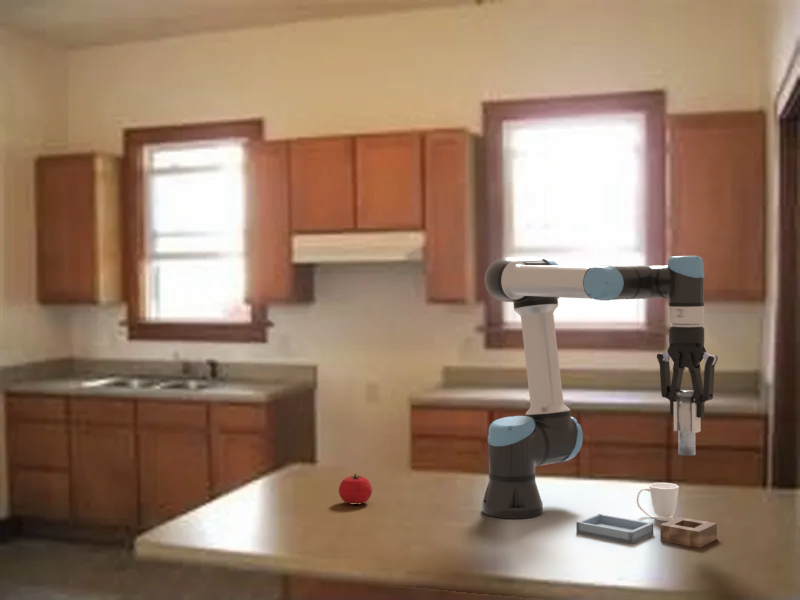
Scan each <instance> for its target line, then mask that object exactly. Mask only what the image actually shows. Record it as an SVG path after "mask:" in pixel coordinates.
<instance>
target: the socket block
mask: <svg viewBox="0 0 800 600" xmlns="http://www.w3.org/2000/svg"><path fill="white" fill-rule="evenodd" d="M717 525H718V524H717V522H710V521H705V520H700V519H692V518H688V517H681V516H677V517H675V518H674V519H673V520H670V521H665V522H663V523H661V524H660V525H659V528H660V529H659V530H660V531H659V532H660V534H659V535H660V541H662V542H666V543H670V544H671V543H672V544H677V545H682V546H687V547H692V546H694V547H693V548H697V547H698V549H700V548H702V547H704V546H705V545H708V544H710V543H712V542H714V541H716V540H717V539H718V526H717Z"/></svg>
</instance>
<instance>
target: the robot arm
mask: <svg viewBox="0 0 800 600" xmlns="http://www.w3.org/2000/svg"><path fill="white" fill-rule="evenodd" d="M667 262H668V263H667V265H559V264H558V263H556V261H554V260H553V259H551V258H548V257H542V256H541V257H540V256H527V257H526V256H525V257H524V256H521V257H520V256H518V257H516V256H515V257H510V256H509V257H507V256H506V257H502V258H498V259H496V260H494V261H493V262H492V263H491V264H490V265H489V266H488V268H487V269H486V271H485V274H484V285H485V289H486V290H487V292H488V294H490V296H492V298H494V299H496V300H498V301H500V302H504V303H509V302H510V303H513V310H514V312H516V313H517V314H518V315H519V316H520V321H521V328H522V329H521V333H522V340H523V348H524V357H525V365H526V366H525V368H526V375H527V376H526V378H527V383H528V385H527V386H528V394H529V395H528V396H529V402H530V407H529V409H527V411H526V412H525V415H514V416H505V417H501V418H498V419H495V420H493V421H492V422H491V423H490V424H489V427H488V435H487V443H488V445H487V446H488V447H487V449H488V483H487V486H486V490H485V493H484V496H483V499H482V503H481V505H482V513H483V514H485V515H487V516H490V517H493V518H499V519H500V518H501V519H512V520H513V519H528V518H533V517H537V516H540V515H541V514H543V513H544V511H543V509H544V507H543V506H544V505H543V504H544V503H543V501H542V497H541V495H540V490H539V488H538V486H537V481H536V467H541V466H546V465H551V464H552V465H553V464H561V463H564V462H567V461H570V460H572V459H574V458H575V457H577V455H578V453H579V452H580V450H581V448H582V445H583V440H584V439H583V437H584V435H583V429H582V426H581V424H580V423H578V420H577V419H576V418H575V417H573V416H572V415H571V408H569V406H567V405H566V404H565V403H564V395H563V388H562V387H563V386H562V378H561V377H562V376H561V369H560V359H559V352H558V351H559V350H558V342H557V335H556V334H557V333H556V327H555V317H554V312H555V311H556V309H558V307H559V301H558V300H559V298H570V299H592V300H596V301H611V300H613V301H614V300H640V299H642V300H646V299H648V300H649V299H653V300H654V299H665V300H666V299H668V324H669V325H671V326H669V328H668V343H669V345H668V348H667V351H664V352H661V353H657V355H656V359H657V361H658V364H659V376H660V377H659V378H660V391H661V393H660V394H661V397H662V398H664V399H668V401H669V414H670V416H673V432H678V396H675V391H678V390H681V388H682V382H683V375H684V372H685V369H686V368H687V369H688V372H689V374H690V379H691V385H692V390H693V391H694V397H695V401H694V403H692V433H695V434H696V433H699V432H701V431H702V429H701V424H702V422H701V418H705V403H706V402H708V401H712V400H713V399H714V387H715V367H716V364H717V361H718V358H719V357H718V356H717V355H712V354H710V353H708V352H707V349H706V348H705V328H704V326H702V325H704V324H705V303H704V300H705V299H704V298H705V297H704V293H705V276H706V275H705V272H704V271H705V270H704V260H703V258H702V257H701V256H699V255H678V256H677V255H676V256H672V255H671V256H669V258H668V260H667ZM670 359H671V360H672V362H673V365H672V371H673V372H672V378H671V366H670V365H671V364H670ZM702 361H703V363H704V371H703V373H704V374H703V380H702V373H701V364H700V363H701V362H702Z"/></svg>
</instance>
